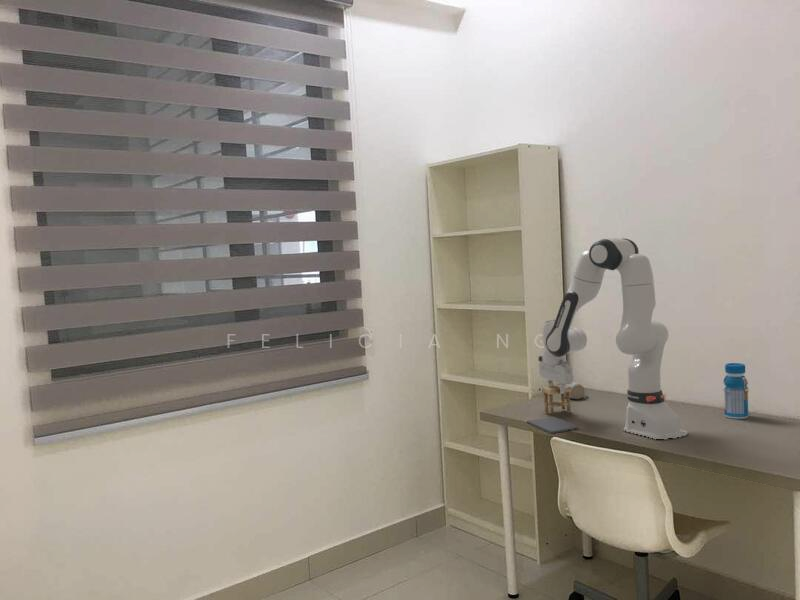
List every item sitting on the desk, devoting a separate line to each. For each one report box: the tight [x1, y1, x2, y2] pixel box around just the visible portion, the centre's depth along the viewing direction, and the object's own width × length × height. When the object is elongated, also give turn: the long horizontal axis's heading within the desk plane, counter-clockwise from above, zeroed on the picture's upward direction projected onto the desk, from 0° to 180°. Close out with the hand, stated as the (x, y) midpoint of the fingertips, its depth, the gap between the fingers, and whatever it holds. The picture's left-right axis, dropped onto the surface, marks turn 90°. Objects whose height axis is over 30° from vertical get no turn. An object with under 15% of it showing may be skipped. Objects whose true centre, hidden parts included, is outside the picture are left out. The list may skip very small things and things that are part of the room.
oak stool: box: [541, 384, 571, 415], centre depth 265 cm, size 10×6×10 cm, turn 108°
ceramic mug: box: [564, 380, 589, 400], centre depth 289 cm, size 11×8×8 cm
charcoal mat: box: [526, 416, 580, 435], centre depth 246 cm, size 18×12×1 cm, turn 18°
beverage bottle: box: [722, 362, 750, 420], centre depth 243 cm, size 8×8×20 cm
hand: (556, 391), depth 265 cm, fingers closed on oak stool, 6 cm apart
